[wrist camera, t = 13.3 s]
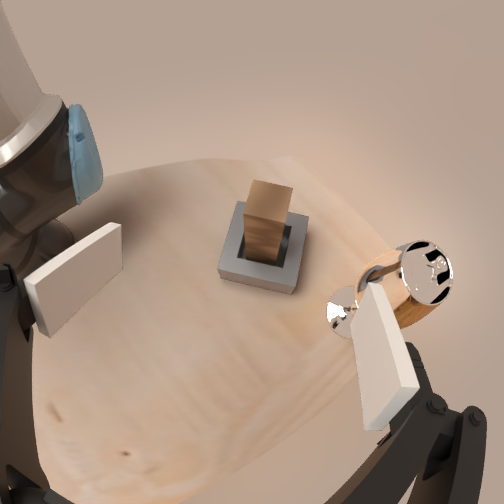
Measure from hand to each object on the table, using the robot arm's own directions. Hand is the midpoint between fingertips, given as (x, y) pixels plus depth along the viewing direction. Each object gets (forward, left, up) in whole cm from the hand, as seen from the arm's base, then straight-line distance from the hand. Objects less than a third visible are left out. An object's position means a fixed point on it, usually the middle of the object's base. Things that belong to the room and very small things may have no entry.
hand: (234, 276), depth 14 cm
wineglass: (+6, +14, -25) cm, 29 cm away
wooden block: (-8, +7, -24) cm, 26 cm away
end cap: (-8, +8, -25) cm, 27 cm away
